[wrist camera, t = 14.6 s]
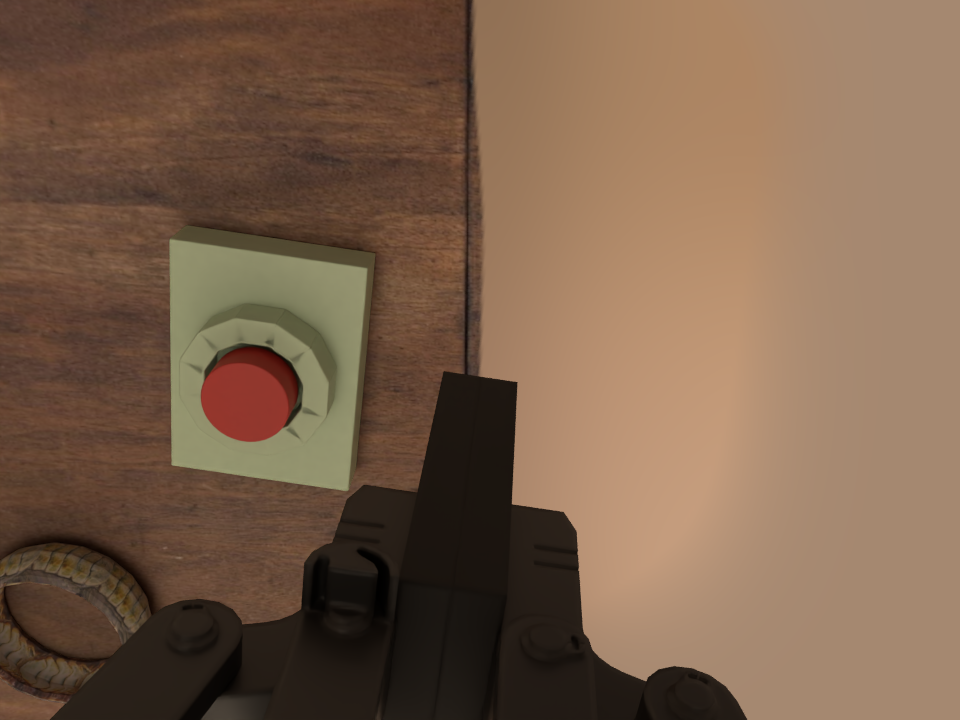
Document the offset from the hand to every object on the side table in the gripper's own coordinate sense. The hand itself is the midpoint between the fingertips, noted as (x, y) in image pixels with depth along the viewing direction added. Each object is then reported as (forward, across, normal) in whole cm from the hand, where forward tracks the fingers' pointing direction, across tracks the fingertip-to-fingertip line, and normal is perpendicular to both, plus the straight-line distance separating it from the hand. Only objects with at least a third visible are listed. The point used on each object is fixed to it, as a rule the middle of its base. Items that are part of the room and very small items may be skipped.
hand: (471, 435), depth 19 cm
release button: (+21, -10, -11) cm, 26 cm away
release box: (+24, -10, -11) cm, 29 cm away
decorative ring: (+25, -21, -29) cm, 43 cm away
